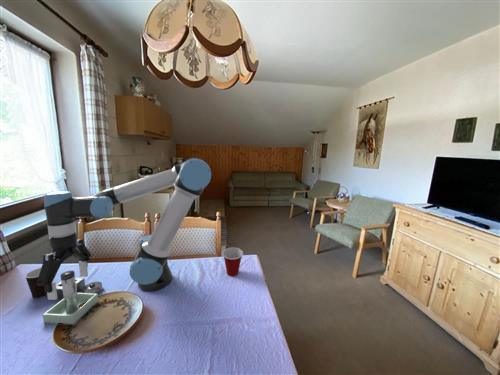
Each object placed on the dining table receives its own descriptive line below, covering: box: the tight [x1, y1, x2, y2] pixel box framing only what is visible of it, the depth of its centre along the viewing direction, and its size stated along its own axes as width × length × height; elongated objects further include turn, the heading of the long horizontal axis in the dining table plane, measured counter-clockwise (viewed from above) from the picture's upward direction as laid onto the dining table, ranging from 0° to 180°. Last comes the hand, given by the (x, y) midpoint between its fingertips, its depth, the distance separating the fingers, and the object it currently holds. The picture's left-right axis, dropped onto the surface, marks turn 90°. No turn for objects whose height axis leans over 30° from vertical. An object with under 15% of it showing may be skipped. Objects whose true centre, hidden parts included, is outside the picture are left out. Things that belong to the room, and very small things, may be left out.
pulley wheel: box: [81, 281, 103, 295], centre depth 93 cm, size 7×7×3 cm
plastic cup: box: [222, 247, 244, 277], centre depth 109 cm, size 11×11×12 cm
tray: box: [42, 292, 99, 326], centre depth 81 cm, size 11×12×4 cm
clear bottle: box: [60, 270, 79, 314], centre depth 80 cm, size 4×4×16 cm
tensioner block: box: [56, 276, 86, 301], centre depth 91 cm, size 8×8×5 cm
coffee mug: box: [24, 266, 49, 299], centre depth 92 cm, size 12×9×10 cm
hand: (69, 286), depth 80 cm, fingers open, 13 cm apart
